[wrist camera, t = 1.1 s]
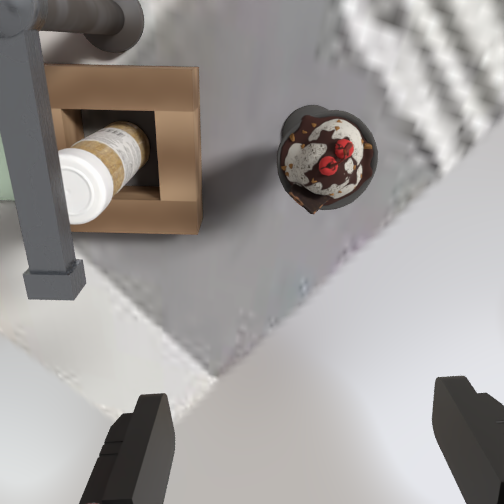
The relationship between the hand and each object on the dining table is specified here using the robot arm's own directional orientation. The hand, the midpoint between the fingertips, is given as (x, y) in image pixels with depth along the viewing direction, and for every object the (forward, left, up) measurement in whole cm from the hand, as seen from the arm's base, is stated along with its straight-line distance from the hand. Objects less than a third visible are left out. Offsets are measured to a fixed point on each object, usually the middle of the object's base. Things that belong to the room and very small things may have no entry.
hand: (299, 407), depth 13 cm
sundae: (-3, +3, -30) cm, 30 cm away
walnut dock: (-4, -13, -29) cm, 32 cm away
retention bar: (-5, -13, -13) cm, 19 cm away
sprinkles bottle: (-1, -13, -30) cm, 32 cm away
